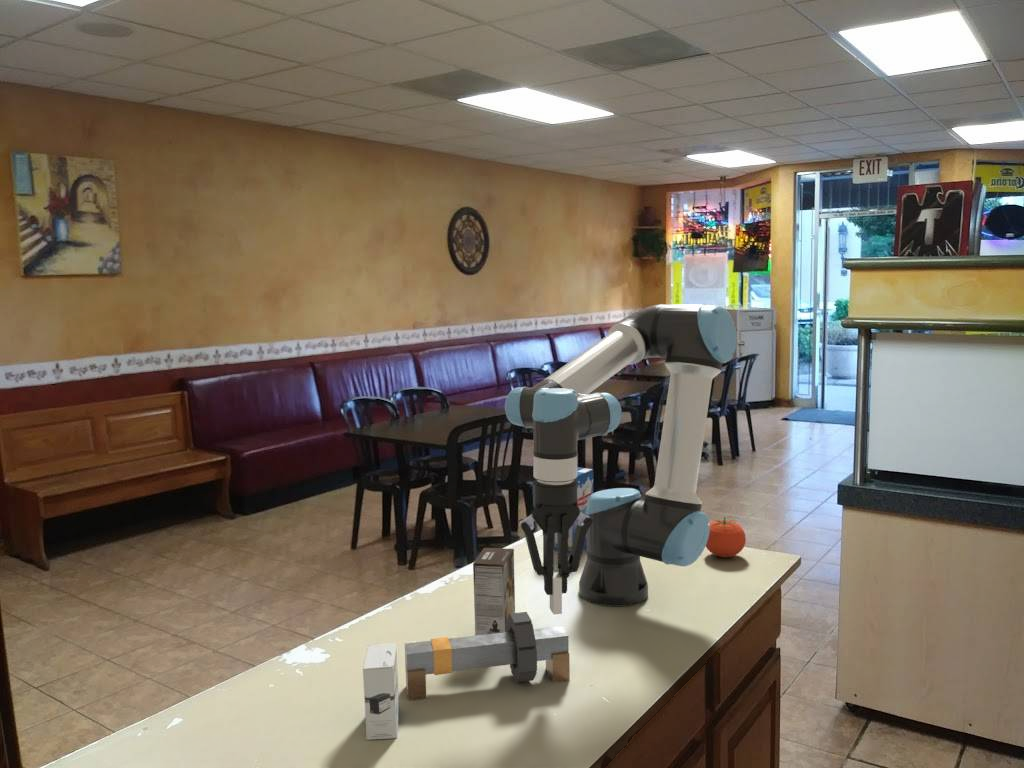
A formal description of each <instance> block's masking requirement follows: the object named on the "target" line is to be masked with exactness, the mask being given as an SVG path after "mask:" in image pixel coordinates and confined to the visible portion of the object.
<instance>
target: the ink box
mask: <svg viewBox="0 0 1024 768" xmlns="http://www.w3.org/2000/svg"><path fill="white" fill-rule="evenodd" d="M397 646H398V645H397V643H394V642H393V643H381V644H380V643H379V644H368V645H367V647H366V653H365V656H364V661H363V666H362V674H363V675H362V676H363V677H362V679H363V695H364V696H363V698H364V712H365V713H364V715H365V732H366V733H365V734H366V735H365V736H366V738H365V739H366V740H367V741H369V740H386V739H387V740H388V739H389V740H390V739H397V738H398V730H399V716H400V715H399V714H400V702H399V699H400V698H399V675H398V674H399V673H398V652H397V651H398V650H397Z"/></svg>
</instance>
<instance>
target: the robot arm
mask: <svg viewBox="0 0 1024 768" xmlns="http://www.w3.org/2000/svg"><path fill="white" fill-rule="evenodd" d="M737 337H738V336H737V330H736V324H735V322H734V319H733V317H732V315H731V314H730V312H729V311H728V310H727V309H726V308H725V307H722V306H720V305H711V304H705V303H701V304H667V303H665V304H664V303H660V304H654V305H650V306H647V307H644V308H641V309H639V310H637V311H636V312H634V313H632V314H629V315H628V316H626V317H624V318H623V319H621V320H619V321H618V322H616V323H615V324H614V325H612V326H611V327H610V328H609V329H608V331H607V333H606V336H604V337H603V338H601V339H600V340H598V341H597V342H596V343H594V344H593V345H591V346H590V347H588V348H587V349H586V350H584V351H583V352H582V353H580V354H579V355H577V356H576V357H574V358H573V359H572V360H570V361H569V362H567V363H566V364H565V365H563V366H561V367H560V368H559V369H557V370H556V371H554V372H553V373H551V374H550V375H548V376H547V377H545V378H544V379H543V380H541V381H539V382H538V383H537V384H535V385H534V386H532V387H529V386H519V387H514V388H513V389H511V391H510V392H509V393H508V394H507V397H506V398H505V402H504V411H505V415H506V418H507V420H508V421H509V422H510V423H511V424H512V425H515V426H518V427H523V428H526V429H532V433H533V437H532V438H533V450H532V451H533V469H532V471H533V478H534V479H535V480H534V481H533V485H532V486H533V490H532V491H533V493H532V494H533V505H532V509H531V510H530V515H528V516H527V517H525V518H521V519H519V520H518V521H517V523H518V525H519V526H520V528H521V529H522V531H523V533H524V538H525V540H526V541H525V542H526V546H527V547H528V553H529V557H530V560H531V564H532V567H533V570H534V571H535V573H536V574H537V575H538V576H543V590H544V592H545V594H546V595H547V596H549V609H550V611H551V613H552V615H562V614H563V594H567V592H568V578H569V576H570V574H572V573H576V572H578V570H579V567H580V563H581V557H582V554H583V551H584V550H583V546H584V541H585V537H586V533H587V548H586V561H585V564H584V566H583V569H582V571H581V572H582V573H581V576H580V578H579V582H578V594H579V596H580V597H582V599H584V600H585V601H588V602H590V603H592V604H595V605H599V606H606V607H628V606H632V605H637V604H639V603H641V602H643V601H644V600H646V599H647V598H648V595H649V583H648V580H647V577H646V575H645V571H644V568H643V565H642V562H641V558H646V559H649V560H653V561H658V562H661V563H664V564H665V565H674V566H678V567H687V566H690V565H693V564H694V563H695V562H696V561H697V560H698V559H699V558H700V556H701V555H702V554H703V552H704V550H705V548H706V544H707V541H708V537H709V532H710V519H709V517H708V515H707V514H706V513H704V511H702V505H703V501H702V500H701V499H700V498H699V496H698V495H697V486H698V481H699V480H698V479H699V473H700V466H701V458H702V453H703V447H704V439H705V433H706V425H707V419H708V418H707V417H708V413H709V412H708V411H709V404H710V398H711V389H712V383H713V380H714V378H715V377H717V376H718V375H719V374H721V373H722V367H723V364H726V363H727V362H728V363H729V362H730V361H731V360H732V359H733V358H734V355H735V353H736V349H737V341H738V340H737ZM649 358H650V359H652V358H662V359H665V360H664V366H665V368H667V370H668V371H669V373H670V376H669V377H670V378H669V381H668V383H669V384H668V389H667V397H666V402H665V410H664V417H663V423H662V431H661V435H660V436H661V437H660V438H661V439H660V443H659V445H660V446H659V451H658V457H657V458H658V459H657V464H656V470H655V471H656V472H655V478H654V484H653V487H651V488H650V489H649V490H648V491H646V492H645V494H644V500H643V499H641V498H642V494H641V491H639V489H637V488H633V487H616V488H608V489H602V490H599V491H596V492H593V494H591V495H590V496H589V498H588V500H587V511H586V514H582V513H581V512H580V509H579V507H578V505H577V481H576V480H575V479H576V478H577V467H578V441H581V440H586V439H590V438H593V437H595V438H596V437H597V436H599V437H600V436H605V435H606V434H609V433H612V432H613V431H614V430H616V429H617V428H618V427H619V426H620V424H621V420H622V416H623V414H622V407H621V403H620V402H619V401H618V399H617V398H616V397H615V396H614V395H613V394H611V393H609V392H598V391H597V392H593V391H595V390H596V389H598V387H600V386H601V385H603V384H604V383H606V382H607V381H608V380H609V379H610V378H612V377H613V376H614V375H616V374H617V373H618V372H620V371H622V370H623V369H624V368H626V367H627V366H629V365H636V364H638V363H640V362H641V361H642V360H645V359H649ZM591 392H593V393H591ZM576 519H577V521H576V523H577V526H576V530H575V534H574V539H573V543H572V547H571V551H570V554H568V538H569V529H570V528H571V526H572V525H573V523H574V522H575V520H576ZM534 522H535V523H536V524H537V525H538V527H539V528H540V529H541V530H542V537H543V538H542V545H543V546H542V551H543V552H542V553H543V555H542V558H543V559H541V558H540V556H541V555H540V552H539V549H538V544H537V541H536V537H535V534H534V531H533V530H534V528H535V523H534ZM554 533H557V539H558V551H557V571H558V572H555V571H554V570H555V569H554V555H555V554H554V552H555V551H554V550H553V541H554ZM542 560H543V561H542ZM542 563H543V564H542Z"/></svg>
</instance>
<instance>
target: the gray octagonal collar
mask: <svg viewBox="0 0 1024 768" xmlns="http://www.w3.org/2000/svg"><path fill="white" fill-rule="evenodd" d="M534 629H535V628H534V625H533V623H532V619H531V617H530V615H529V613H528V612H527V611H523V612H521V611H520V612H515V613H510V614H509V616H508V619H507V624H506V631H507V632H513V631H514V635H515V641H516V647H517V664H510V665H509V668H510V672H511V674H512V677H513V679H514V682H515V683H522V682H523V683H524V682H530V681H531V682H532V681H534V679H535V678H536V675H537V673H538V672H537V671H538V661H537V649H536V641H535V635H534Z"/></svg>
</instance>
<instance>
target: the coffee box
mask: <svg viewBox="0 0 1024 768" xmlns="http://www.w3.org/2000/svg"><path fill="white" fill-rule="evenodd" d="M472 566H473V567H472V568H473V569H472V571H473V600H474V601H473V602H474V604H473V605H474V608H473V609H474V632H475V633H474V634H475V635H474V636H477V635H486V634H495V633H504V632H507V631H506V624H507V619H508V616H509V614H510V613H516V597H515V595H516V593H515V592H516V589H515V588H516V587H515V586H516V585H515V549H514V548H501V547H483V549H482V550H481V552H480V553H479V554H478V556H477V557H476V559H475V560H474V562H473V563H472Z"/></svg>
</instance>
